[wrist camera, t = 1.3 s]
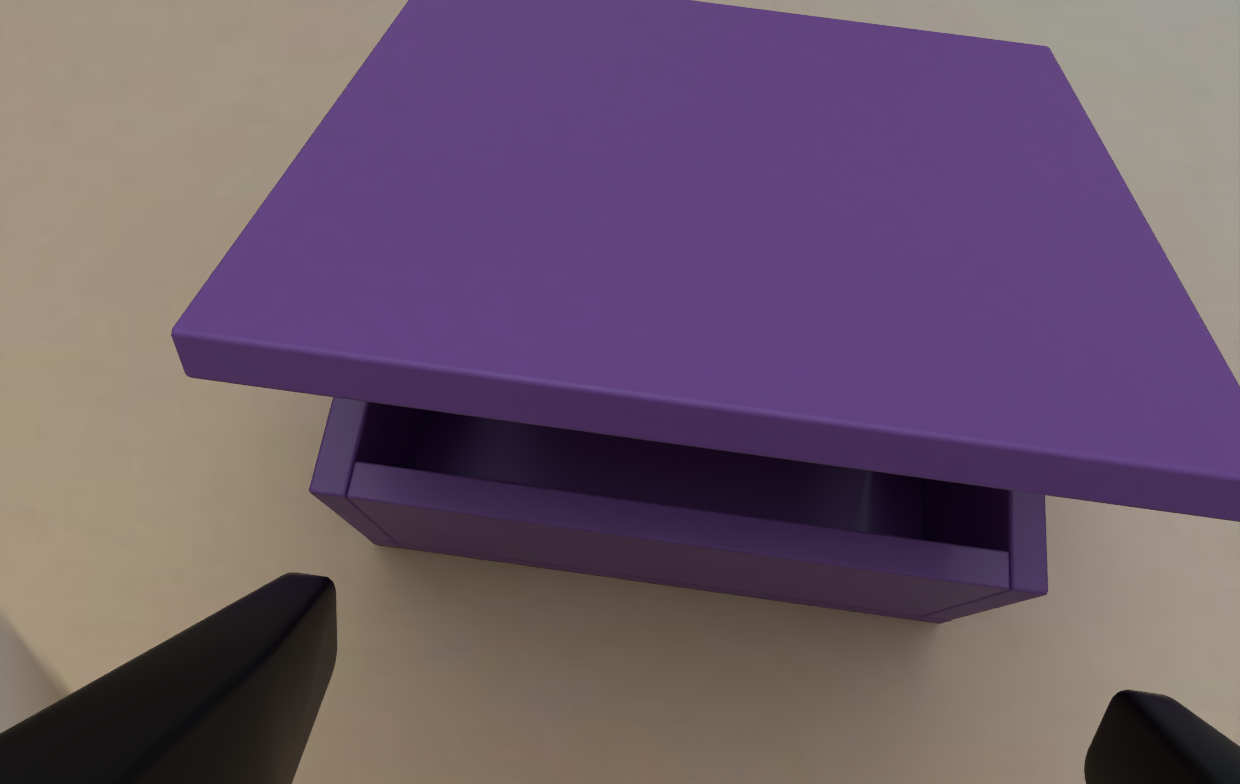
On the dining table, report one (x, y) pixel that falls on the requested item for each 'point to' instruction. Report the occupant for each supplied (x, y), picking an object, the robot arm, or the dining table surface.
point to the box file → (679, 514)
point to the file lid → (733, 252)
